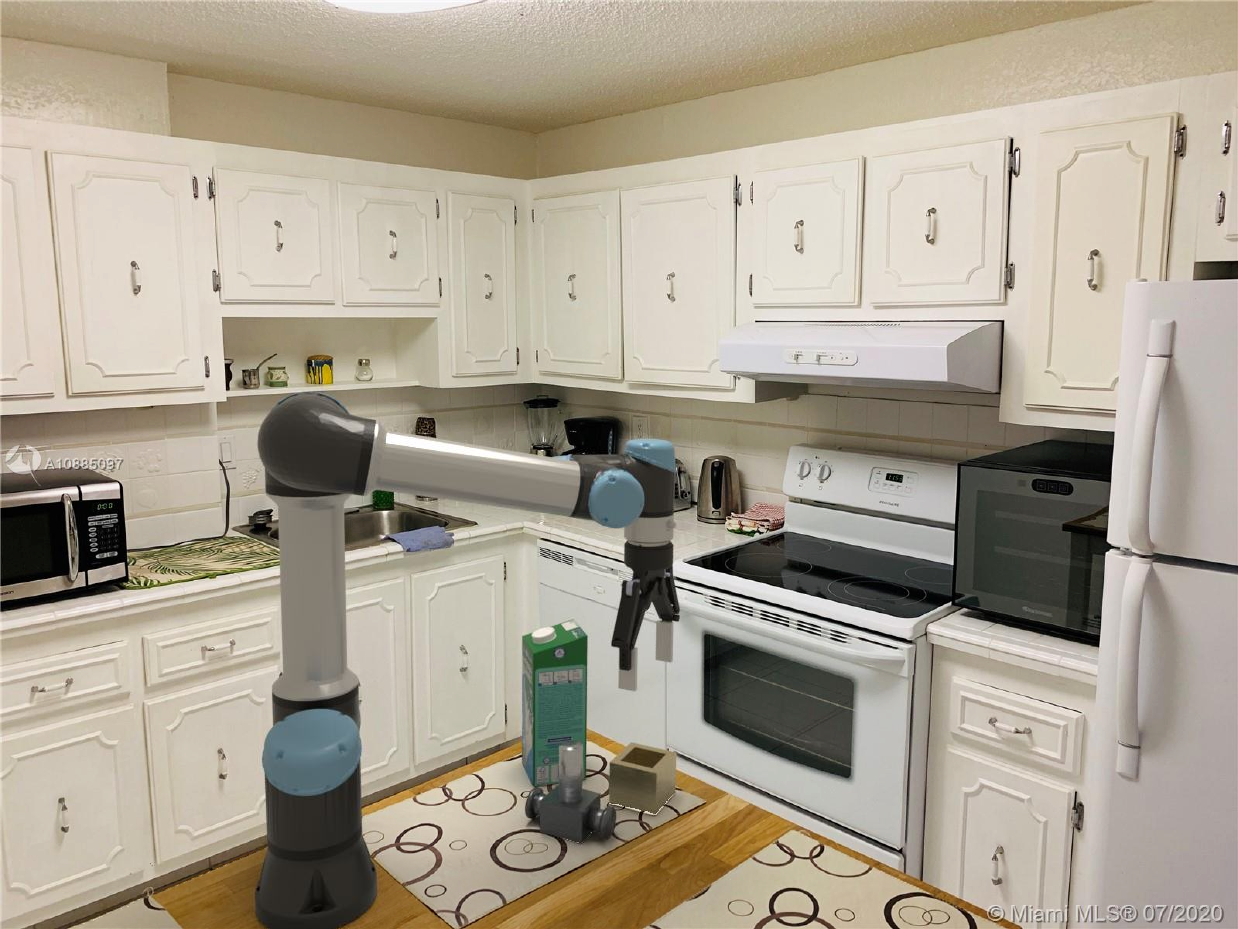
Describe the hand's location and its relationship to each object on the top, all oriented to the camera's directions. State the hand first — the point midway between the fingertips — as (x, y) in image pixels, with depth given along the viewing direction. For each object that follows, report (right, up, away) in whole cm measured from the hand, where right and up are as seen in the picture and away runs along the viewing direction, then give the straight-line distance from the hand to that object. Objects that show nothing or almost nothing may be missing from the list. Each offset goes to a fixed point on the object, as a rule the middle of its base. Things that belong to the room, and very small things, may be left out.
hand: (646, 674), depth 143 cm
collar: (-1, -21, +3) cm, 21 cm away
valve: (-12, -22, -6) cm, 25 cm away
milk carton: (-15, -19, +12) cm, 28 cm away
